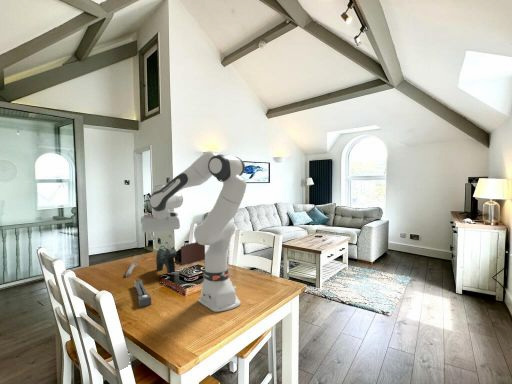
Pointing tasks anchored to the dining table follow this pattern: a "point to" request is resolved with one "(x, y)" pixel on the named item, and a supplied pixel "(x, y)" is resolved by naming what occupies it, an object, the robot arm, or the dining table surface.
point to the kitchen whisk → (131, 268)
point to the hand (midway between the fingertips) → (161, 238)
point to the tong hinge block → (144, 300)
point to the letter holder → (190, 253)
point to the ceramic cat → (166, 259)
